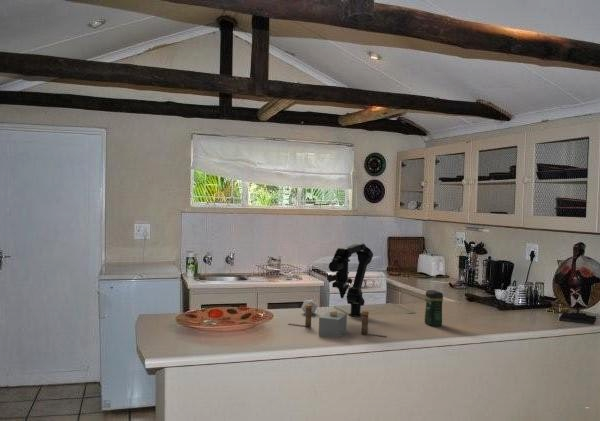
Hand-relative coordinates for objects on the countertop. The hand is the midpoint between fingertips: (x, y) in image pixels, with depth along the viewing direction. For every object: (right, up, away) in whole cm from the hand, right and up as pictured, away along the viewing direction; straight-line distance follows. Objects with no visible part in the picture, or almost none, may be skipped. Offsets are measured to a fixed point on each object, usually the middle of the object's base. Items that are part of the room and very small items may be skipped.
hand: (342, 298), depth 278 cm
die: (-18, -11, +13) cm, 25 cm away
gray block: (-7, -13, -28) cm, 31 cm away
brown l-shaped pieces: (-5, -12, -23) cm, 26 cm away
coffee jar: (+49, -14, -4) cm, 51 cm away
